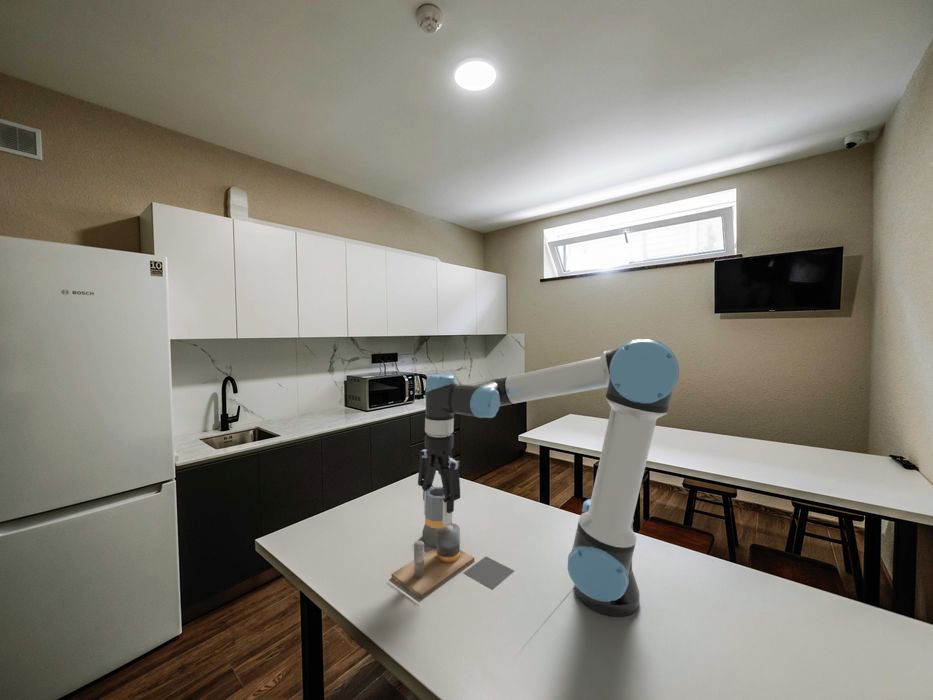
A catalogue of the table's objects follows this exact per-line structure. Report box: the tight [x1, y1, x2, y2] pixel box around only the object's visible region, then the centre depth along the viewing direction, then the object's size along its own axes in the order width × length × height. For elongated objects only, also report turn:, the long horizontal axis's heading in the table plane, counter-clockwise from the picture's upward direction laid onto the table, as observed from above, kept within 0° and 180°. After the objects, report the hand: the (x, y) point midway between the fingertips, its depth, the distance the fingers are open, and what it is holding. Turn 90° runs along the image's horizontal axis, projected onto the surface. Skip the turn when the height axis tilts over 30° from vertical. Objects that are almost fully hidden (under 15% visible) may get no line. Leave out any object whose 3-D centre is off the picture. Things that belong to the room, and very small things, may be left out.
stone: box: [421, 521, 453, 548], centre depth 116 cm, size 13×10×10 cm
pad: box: [463, 556, 515, 591], centre depth 100 cm, size 10×10×1 cm
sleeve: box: [424, 486, 450, 528], centre depth 98 cm, size 7×7×8 cm
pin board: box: [391, 522, 475, 600], centre depth 101 cm, size 12×20×10 cm, turn 139°
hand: (437, 518), depth 98 cm, fingers closed on sleeve, 7 cm apart
